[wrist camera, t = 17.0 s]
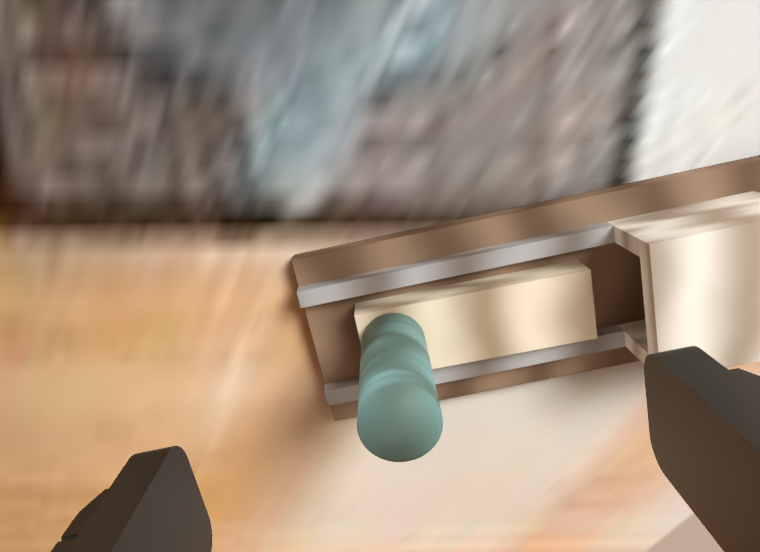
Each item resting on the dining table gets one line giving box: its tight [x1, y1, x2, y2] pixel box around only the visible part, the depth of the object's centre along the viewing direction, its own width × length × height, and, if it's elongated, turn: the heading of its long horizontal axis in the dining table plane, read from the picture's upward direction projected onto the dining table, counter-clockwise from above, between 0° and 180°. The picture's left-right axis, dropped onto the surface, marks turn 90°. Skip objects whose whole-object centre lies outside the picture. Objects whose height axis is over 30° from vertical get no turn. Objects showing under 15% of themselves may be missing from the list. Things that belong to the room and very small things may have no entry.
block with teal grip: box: [354, 260, 597, 462], centre depth 36 cm, size 16×5×13 cm, turn 101°
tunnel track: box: [291, 155, 760, 421], centre depth 39 cm, size 42×13×8 cm, turn 102°
